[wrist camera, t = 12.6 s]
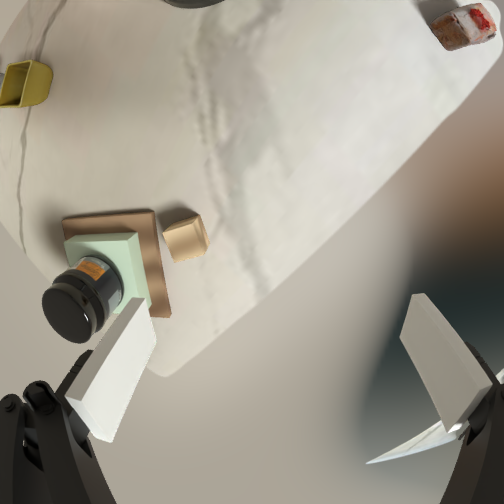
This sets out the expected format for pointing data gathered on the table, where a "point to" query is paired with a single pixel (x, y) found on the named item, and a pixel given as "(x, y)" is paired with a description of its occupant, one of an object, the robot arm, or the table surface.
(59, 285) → the supplement container
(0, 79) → the coffee mug
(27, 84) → the flower pot
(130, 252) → the pedestal slab
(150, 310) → the board
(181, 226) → the block
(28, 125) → the table surface
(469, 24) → the food item
